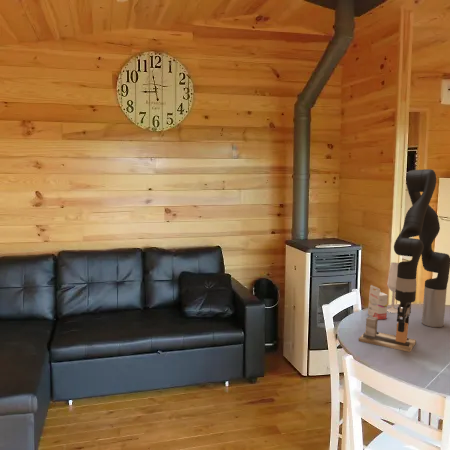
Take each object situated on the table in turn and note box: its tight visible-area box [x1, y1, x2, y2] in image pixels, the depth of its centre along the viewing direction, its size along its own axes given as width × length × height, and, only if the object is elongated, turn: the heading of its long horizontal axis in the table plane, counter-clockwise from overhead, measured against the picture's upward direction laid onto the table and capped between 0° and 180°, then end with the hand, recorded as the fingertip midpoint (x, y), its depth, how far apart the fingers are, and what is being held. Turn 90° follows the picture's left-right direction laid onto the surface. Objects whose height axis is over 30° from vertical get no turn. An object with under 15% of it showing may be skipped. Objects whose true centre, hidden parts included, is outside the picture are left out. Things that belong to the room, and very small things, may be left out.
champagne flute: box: [386, 261, 400, 314], centre depth 239 cm, size 7×7×24 cm
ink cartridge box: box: [367, 284, 389, 320], centre depth 230 cm, size 9×5×15 cm, turn 17°
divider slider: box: [395, 322, 409, 343], centre depth 194 cm, size 9×4×8 cm, turn 149°
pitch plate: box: [358, 315, 417, 353], centre depth 198 cm, size 12×20×10 cm, turn 58°
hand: (403, 328), depth 192 cm, fingers open, 8 cm apart
